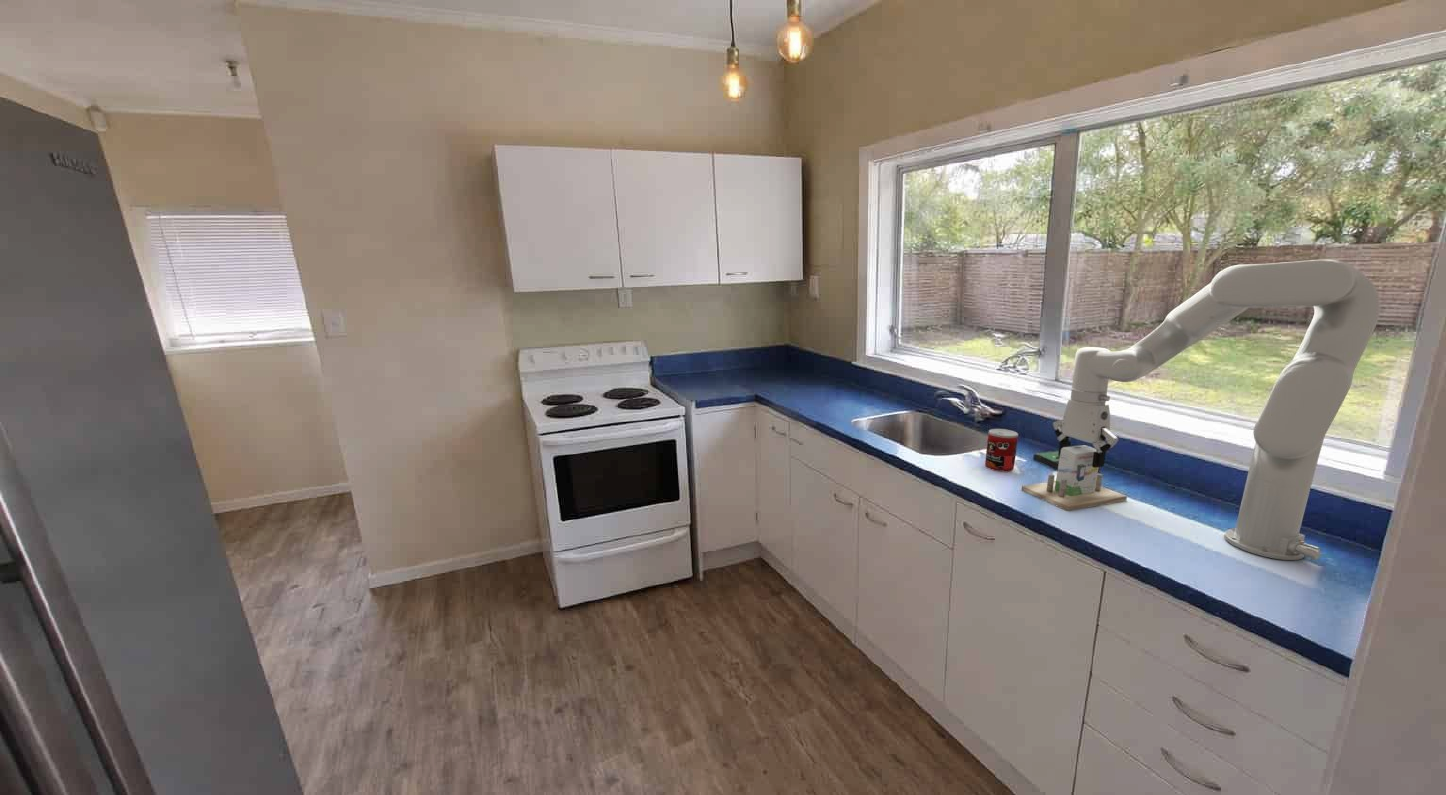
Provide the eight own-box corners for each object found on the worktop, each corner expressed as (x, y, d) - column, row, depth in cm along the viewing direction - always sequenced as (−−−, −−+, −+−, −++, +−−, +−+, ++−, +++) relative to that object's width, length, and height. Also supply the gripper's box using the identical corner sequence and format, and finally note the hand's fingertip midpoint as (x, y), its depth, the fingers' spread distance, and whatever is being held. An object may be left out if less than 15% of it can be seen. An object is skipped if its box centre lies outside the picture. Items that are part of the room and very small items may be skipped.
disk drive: (1099, 475, 164) (1060, 458, 178) (1100, 466, 163) (1061, 449, 177) (1068, 477, 162) (1031, 460, 176) (1070, 468, 161) (1033, 451, 175)
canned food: (979, 464, 171) (982, 429, 168) (1000, 461, 173) (1004, 427, 171) (998, 473, 164) (1002, 437, 161) (1019, 470, 166) (1024, 434, 164)
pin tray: (1126, 500, 144) (1129, 479, 143) (1067, 511, 138) (1070, 489, 137) (1077, 481, 157) (1080, 462, 156) (1021, 490, 151) (1024, 470, 150)
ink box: (1078, 486, 151) (1084, 444, 148) (1095, 493, 146) (1102, 450, 143) (1053, 489, 148) (1059, 447, 146) (1070, 497, 144) (1076, 453, 141)
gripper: (1133, 402, 135) (1123, 469, 138) (1069, 389, 151) (1061, 450, 154) (1110, 404, 132) (1100, 473, 136) (1047, 391, 149) (1040, 453, 152)
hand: (1080, 460), depth 145 cm, fingers open, 9 cm apart
